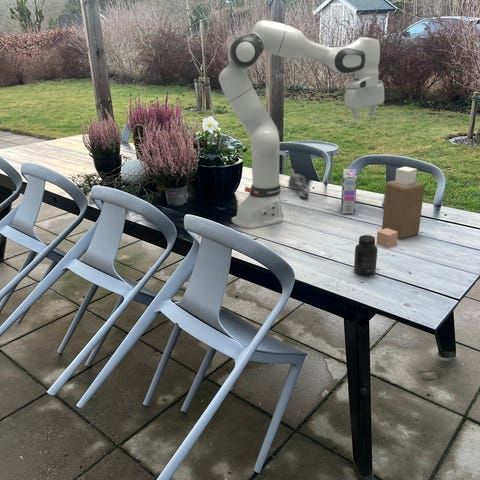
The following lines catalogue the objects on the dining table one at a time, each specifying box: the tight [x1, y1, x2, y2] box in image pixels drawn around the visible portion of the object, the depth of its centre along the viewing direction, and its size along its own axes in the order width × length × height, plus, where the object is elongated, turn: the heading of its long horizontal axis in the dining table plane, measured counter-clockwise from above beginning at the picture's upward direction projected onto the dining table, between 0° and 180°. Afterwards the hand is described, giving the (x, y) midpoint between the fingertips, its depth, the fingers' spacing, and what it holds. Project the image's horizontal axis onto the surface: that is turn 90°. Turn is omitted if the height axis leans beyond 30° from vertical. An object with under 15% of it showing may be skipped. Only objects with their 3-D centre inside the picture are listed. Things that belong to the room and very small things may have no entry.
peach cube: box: [375, 228, 398, 249], centre depth 168 cm, size 5×5×5 cm
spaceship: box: [289, 168, 311, 199], centre depth 231 cm, size 8×35×8 cm
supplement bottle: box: [353, 234, 378, 277], centre depth 148 cm, size 7×7×12 cm
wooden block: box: [381, 179, 425, 240], centre depth 174 cm, size 10×10×20 cm
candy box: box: [340, 168, 358, 215], centre depth 201 cm, size 14×6×16 cm, turn 168°
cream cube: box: [394, 166, 418, 185], centre depth 169 cm, size 5×5×5 cm
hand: (363, 117), depth 188 cm, fingers open, 8 cm apart
